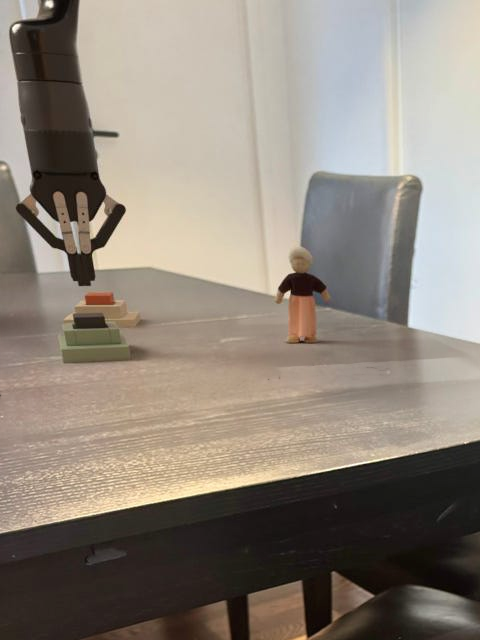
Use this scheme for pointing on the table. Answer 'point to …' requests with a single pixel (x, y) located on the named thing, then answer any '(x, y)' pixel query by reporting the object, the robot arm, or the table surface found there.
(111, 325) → the green stepped pyramid
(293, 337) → the grandmother figurine
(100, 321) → the key front
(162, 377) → the table surface
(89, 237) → the robot arm
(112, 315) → the beige stepped base
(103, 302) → the key back
